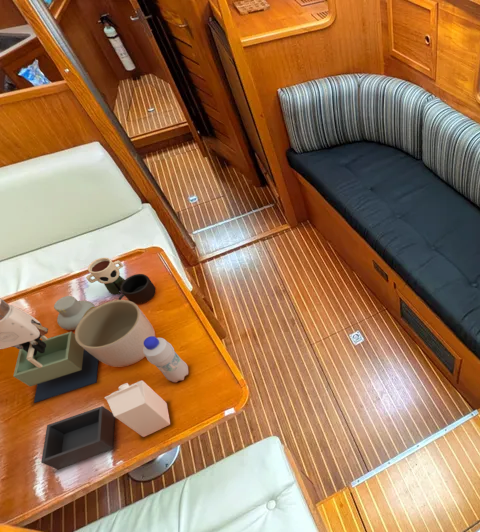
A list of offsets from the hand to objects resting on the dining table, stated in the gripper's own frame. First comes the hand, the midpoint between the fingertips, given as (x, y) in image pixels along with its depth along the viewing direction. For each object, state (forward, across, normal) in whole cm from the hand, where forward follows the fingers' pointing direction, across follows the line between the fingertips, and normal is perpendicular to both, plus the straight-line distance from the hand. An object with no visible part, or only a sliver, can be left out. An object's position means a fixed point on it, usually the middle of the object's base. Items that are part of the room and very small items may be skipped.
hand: (39, 350), depth 110 cm
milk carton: (+14, +24, -26) cm, 38 cm away
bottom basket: (+14, +7, -25) cm, 29 cm away
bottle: (+14, +31, -14) cm, 37 cm away
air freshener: (+14, +2, +20) cm, 24 cm away
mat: (+14, 0, 0) cm, 14 cm away
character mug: (+14, +13, +30) cm, 35 cm away
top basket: (+8, 0, 0) cm, 8 cm away
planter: (+14, +18, +1) cm, 23 cm away
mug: (+14, +20, +22) cm, 33 cm away
